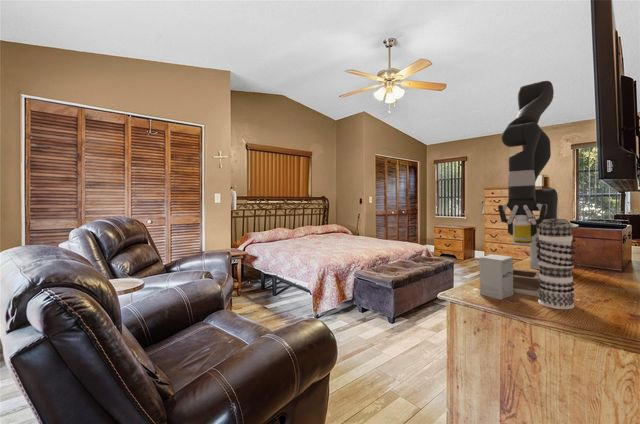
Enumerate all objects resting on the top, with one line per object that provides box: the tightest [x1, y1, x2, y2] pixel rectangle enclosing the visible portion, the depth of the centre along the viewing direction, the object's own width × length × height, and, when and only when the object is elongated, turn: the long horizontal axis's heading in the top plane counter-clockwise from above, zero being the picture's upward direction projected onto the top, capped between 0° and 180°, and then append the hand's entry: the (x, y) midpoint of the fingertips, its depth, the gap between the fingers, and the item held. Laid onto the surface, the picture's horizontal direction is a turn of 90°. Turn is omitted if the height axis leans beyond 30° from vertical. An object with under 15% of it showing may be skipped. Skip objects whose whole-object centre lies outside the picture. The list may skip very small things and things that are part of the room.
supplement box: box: [478, 254, 514, 301], centre depth 99 cm, size 7×7×13 cm
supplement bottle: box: [512, 215, 532, 246], centre depth 102 cm, size 5×5×10 cm
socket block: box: [513, 268, 540, 297], centre depth 103 cm, size 10×10×6 cm
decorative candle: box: [536, 218, 577, 310], centre depth 89 cm, size 9×9×25 cm
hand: (522, 235), depth 102 cm, fingers closed on supplement bottle, 5 cm apart
